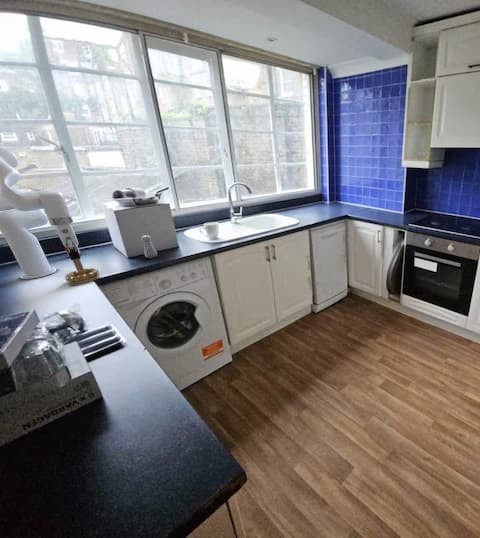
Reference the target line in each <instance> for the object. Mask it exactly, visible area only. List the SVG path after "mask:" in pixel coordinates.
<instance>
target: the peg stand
mask: <svg viewBox="0 0 480 538" xmlns="http://www.w3.org/2000/svg"><path fill="white" fill-rule="evenodd" d="M72 262H73V264H74V267H75V269H76V271H77V272H78V274H79V276H80V275H84V274H86V273H85V270H84V269H85V268H84V266H83V263H82V261H81V258H80V259H74V260H72ZM97 280H99V279H98V275H96V276H95V277H92V278H90V279H86V280H82V281H75V282H70V284H71V286H72V287H73V286H77V285H80V284H85V283H89V282H93V281H97Z"/></svg>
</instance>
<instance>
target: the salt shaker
mask: <svg viewBox="0 0 480 538" xmlns="http://www.w3.org/2000/svg"><path fill="white" fill-rule="evenodd" d="M140 240H141V242H143V250H144V251H143V252H144V253H143V255H144V257H145V258H146V259H153V258H156V257H157V256H158V252H157V250H156V248H155V247H154V245H153V243H152V241H151V240H152V237H151V235H142V236H141V237H140Z"/></svg>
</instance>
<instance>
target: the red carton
mask: <svg viewBox="0 0 480 538" xmlns="http://www.w3.org/2000/svg"><path fill="white" fill-rule="evenodd" d="M69 238H70V237H69ZM62 244H63V243H62ZM74 245H75V244H74ZM75 246H76V248H77V250H78V253H79V256H80V257H81V255H82V253H81V250H80V248H79V245H75ZM63 247H64V250H65V251H66V254H67V256H68V257H69V258H70V256H69V253H68V250H67V246H66V247H65V246H64V244H63Z"/></svg>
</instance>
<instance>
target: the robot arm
mask: <svg viewBox="0 0 480 538" xmlns="http://www.w3.org/2000/svg"><path fill="white" fill-rule="evenodd" d="M18 166H19V159H18V157H17V156H16V154H15V153H13V152H12V151H10V150H9V149H6V148H2V147H0V233H1V235H3V237H4V239H5V240H6V242H7V244H8V246H9V248H10V250H11V252H12V253H13V256H14V258H15V260H16V262H17V264H18V266H19V267H20V269H21V272H22V274H20V275H19V277H20V279H22V280H32V279H38V278H43V277H46V276H48V275H49V276H50V275H51V274H54V273H56V272H57V267H53V266H52V267H51V265H50V263H49V261H48V259H47V257H46V254H45V252H44V249H43V248H42V246H41V244H40V242H39V239H38V238H37V236H35V235H34V234H33V233H31V232H30V231H28V230H30V229H35V228H40V227H43V226H46V224H47V223H48V222H49V225H50V226H52V227H55V230H56V232H57V235H58V237H59V239H60V241H61V243H62V244H64V245H63V247H64V246H65V247H66V246H67V250H68V253H69V256H70V257H69V256H68V257H69V259H70V261H73V260H74V259H80V260H81V255H80V256H79V253H78V250H77V248H76V246H75V245H78V246H79V241H78V238H77V235H76V233H75V231H74V227H73V226H72V224H74V220H73V217H72V215H71V212H70V209H69V207H68V205H67V202H66V198H65V196H64V194H63V193H62V192H59V191H48V190H35V191H26V192H25V191H23V190H22V189H19V188H15V187H13V186H15V185H16V184H18V183H19V182H20V181H21V178H22V175H21V172H19V170H17V169H15V168H16V167H18ZM69 237H70V238H69ZM74 244H75V245H74ZM65 247H64V248H65Z"/></svg>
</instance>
